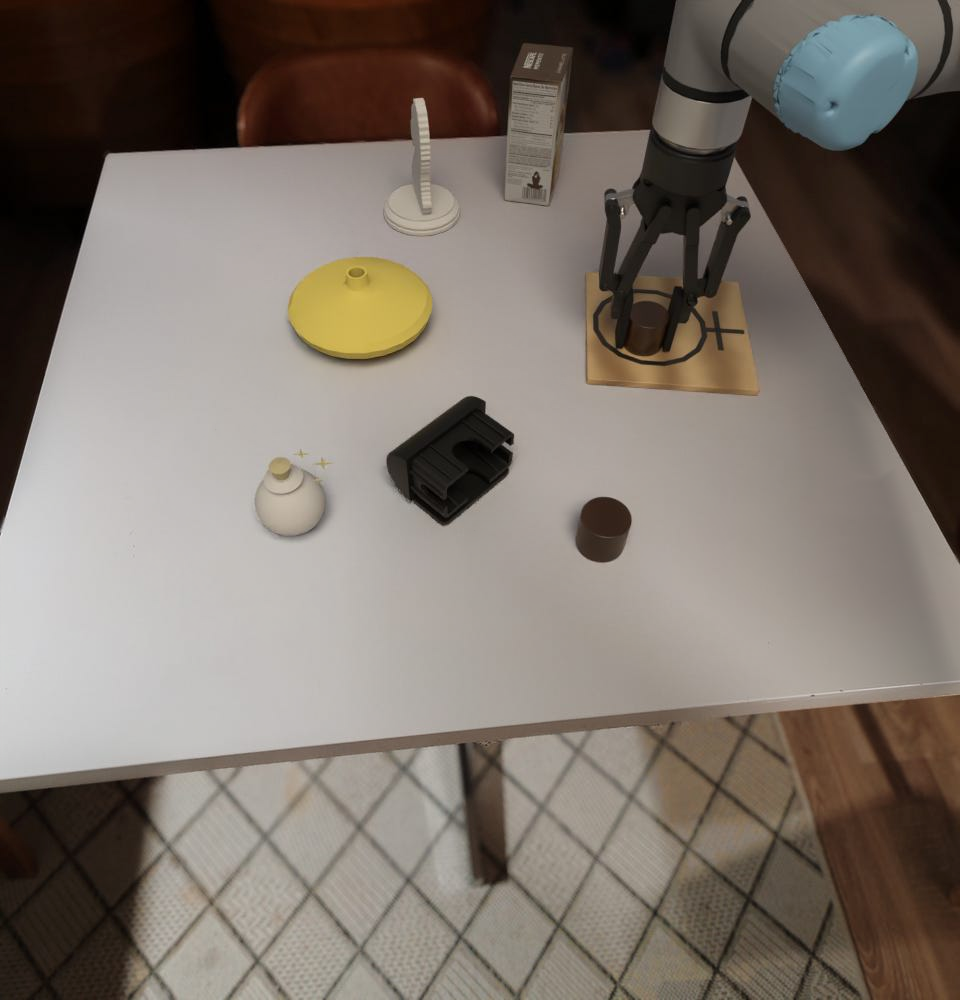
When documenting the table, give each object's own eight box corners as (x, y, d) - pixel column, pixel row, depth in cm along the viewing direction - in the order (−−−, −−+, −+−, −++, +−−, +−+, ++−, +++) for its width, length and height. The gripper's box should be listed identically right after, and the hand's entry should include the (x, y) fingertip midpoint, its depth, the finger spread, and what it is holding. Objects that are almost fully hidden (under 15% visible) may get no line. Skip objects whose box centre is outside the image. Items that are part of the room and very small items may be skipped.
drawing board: (736, 287, 92) (738, 280, 91) (757, 395, 81) (760, 389, 80) (585, 277, 92) (586, 271, 91) (586, 384, 81) (587, 378, 81)
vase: (461, 316, 88) (461, 264, 82) (370, 395, 80) (363, 344, 74) (357, 263, 93) (350, 211, 87) (262, 333, 85) (248, 281, 79)
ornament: (265, 496, 72) (240, 424, 64) (345, 491, 72) (331, 419, 64) (260, 551, 68) (233, 482, 60) (344, 545, 69) (329, 476, 61)
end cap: (461, 431, 77) (461, 383, 72) (514, 470, 74) (518, 423, 69) (388, 488, 73) (382, 441, 67) (440, 531, 70) (439, 486, 64)
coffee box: (514, 164, 107) (522, 40, 94) (560, 170, 106) (574, 46, 93) (502, 201, 101) (509, 74, 88) (550, 207, 101) (564, 81, 88)
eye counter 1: (623, 524, 71) (630, 498, 68) (624, 564, 68) (633, 539, 65) (575, 520, 71) (580, 494, 68) (575, 561, 68) (581, 536, 65)
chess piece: (451, 188, 103) (450, 71, 91) (467, 231, 97) (468, 112, 85) (378, 196, 101) (367, 78, 89) (390, 240, 96) (380, 121, 84)
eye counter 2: (660, 330, 85) (668, 301, 82) (663, 358, 83) (671, 329, 80) (620, 327, 86) (627, 299, 82) (622, 355, 83) (628, 326, 80)
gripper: (791, 116, 67) (718, 323, 86) (591, 104, 68) (562, 313, 86) (806, 162, 63) (726, 370, 82) (592, 149, 63) (562, 359, 82)
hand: (642, 340), depth 84 cm, fingers closed on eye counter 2, 4 cm apart
